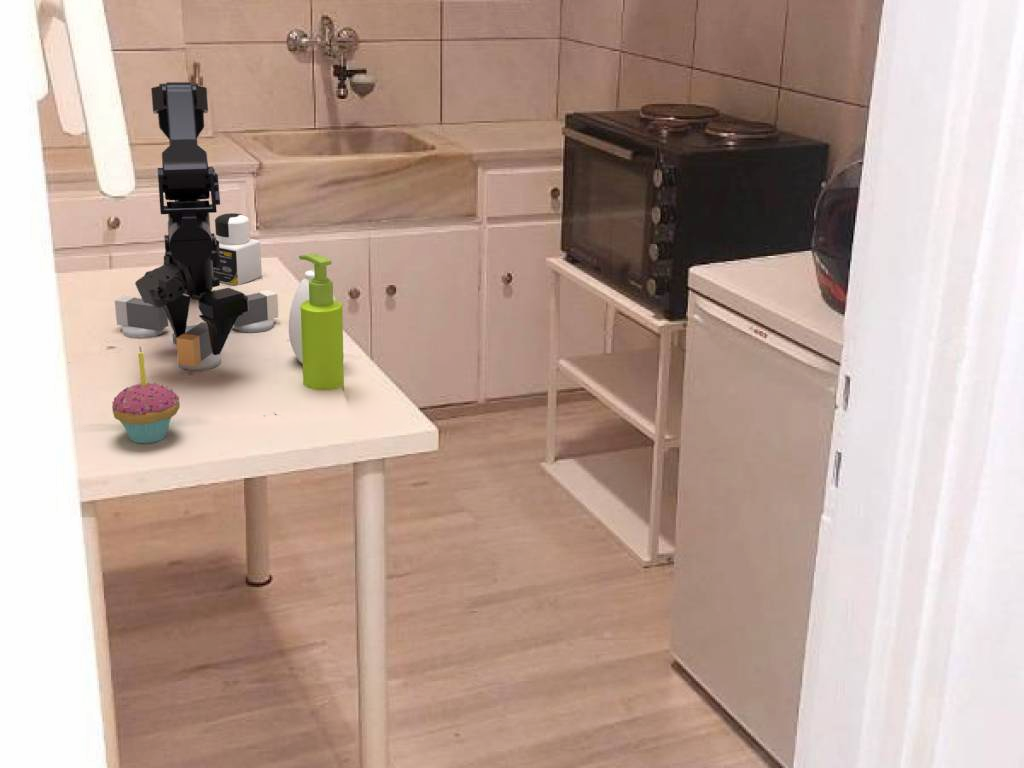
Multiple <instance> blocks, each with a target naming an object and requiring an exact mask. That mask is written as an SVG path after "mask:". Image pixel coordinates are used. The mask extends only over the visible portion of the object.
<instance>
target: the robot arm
mask: <svg viewBox="0 0 1024 768" xmlns="http://www.w3.org/2000/svg"><path fill="white" fill-rule="evenodd" d="M150 91H151V105H152V112H153V114H157V117H158V128H159V129H160V130H161V131H162V132H163V134H164V135H165V137H166V138H167V139H168V140H169V141H168V142H169V145H168V146H167V147H166V148H165V149H163V151H162V152H161V160H162V163H161V164H162V167H157V179H158V180H157V181H158V194H159V195H158V196H159V207H160V208H159V209H160V215H167V219H168V221H167V233H168V234H164V235H163V236H164V251H165V252H164V255H163V264H162V265H161V266H159V267H156V268H154V269H153V270H149V271H146V272H145V274H144V275H143V276H142V277H140V278H138V279H137V280H136V281H135V282H134V285H135V286H136V289H137V291H138V293H139V296H140V297H141V298H140V299H142V300H143V302H144V303H149V304H151V305H153V306H154V307H157V308H160V307H163V309H164V311H165V313H166V315H167V317H168V323H169V324H170V326H171V329H172V331H173V333H174V334H175V336H176V338H178V337H179V336H180V335H182V334H185V330H186V326H188V325H187V324H188V318H189V311H190V303H191V299H192V300H197V302H198V309H199V311H200V313H201V314H200V315H198V317H199V318H200V319H201V320H203V322H205V323H207V324H208V331H209V337H210V343H211V348H212V352H213V355H218V354H221V353H222V351H223V348H224V346H225V344H226V342H227V340H228V338H229V336H230V333H231V332H232V329H233V328H234V323H235V322H236V320H237V318H238V316H240V315H243V312H247V311H248V310H249V304H248V297H247V296H246V294H245V293H243V292H242V291H239V290H236V289H234V288H230V287H226V288H221V289H218V290H214V291H213V288H216V287H220V285H221V282H220V279H218V278H215V277H213V267H214V268H217V267H216V266H217V265H220V252H219V241H218V240H217V238H216V234H215V233H212V230H211V221H210V214H213V213H215V214H216V213H217V212H218V211H217V206H219V205H221V197H220V188H219V187H220V186H219V185H220V184H219V175H218V174H217V173H216V171H215V168H214V167H213V166H209V165H208V164H209V162H208V153H207V151H206V150H205V149H203V148H202V147H201V146H200V145H198V137H199V136H200V135H201V133H202V131H203V130H204V128H205V116H204V115H205V114H208V112H209V102H208V90H207V86H206V87H205V86H201V85H199V83H196V82H195V83H193V82H192V81H167V82H165V83H159V85H158V86H153V87H150ZM210 195H211V196H210ZM210 198H211V203H210V201H209V199H210ZM165 200H166V205H165Z"/></svg>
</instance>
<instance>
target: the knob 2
mask: <svg viewBox="0 0 1024 768" xmlns="http://www.w3.org/2000/svg"><path fill="white" fill-rule="evenodd" d="M245 295H246V294H245ZM246 296H247V297H248V304H249V310H248V311H247V312H243V315H240V316H238V318H237V320H236V322H235V323H234V325H233V329H234V330H235V331H238V332H241V333H250V334H251V333H262V332H264V333H265V332H267V331H270V330H271V329H273V328H274V326H275V321H274V319H278V318H279V303H278V302H279V301H278V300H279V298H278V293H277V292H275V291H272V290H270V289H267V290H266V289H265V290H261V291H258V292H255V293H252V294H247V295H246Z"/></svg>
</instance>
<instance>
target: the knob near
mask: <svg viewBox="0 0 1024 768" xmlns="http://www.w3.org/2000/svg"><path fill="white" fill-rule="evenodd" d="M114 306H115V319H116V325H117V326H121V327H122V328H121V329H122V334H123V335H124V337H127V338H128V337H129V338H131V339H133V338H134V339H148V338H154V337H157V336H160V335H162V334H163V333H164V332H165V329H166V328H167V327H169V320H168V317H167V315H166V313H165V311H164V309H163V307H160V308H157V307H154V306H153V305H151V304H149V303H144V302H143V300H142V298H140V297H139V298H138V297H135V296H129V295H128V296H127V295H123V296H120V297H118V298H117V299H115V300H114Z"/></svg>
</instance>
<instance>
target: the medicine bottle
mask: <svg viewBox="0 0 1024 768" xmlns="http://www.w3.org/2000/svg"><path fill="white" fill-rule="evenodd" d="M214 224H215V225H214V226H215V237H216V239H217V240H218V241H219V252H220V265H217V266H216V267H217V268H214V267H213V277H215V278H218V279H220V284H221V283H222V284H226V285H230V286H237V287H238V286H242V285H244V284H247V283H249V282H252V281H255V280H257V279H260V278H262V276H263V274H262V273H263V272H262V270H263V269H262V253H261V252H262V250H261V248H262V247H261V241H260V240H258V239H253V238H250V234H251V233H250V219H249V217H248V216H246V215H245V214H241V213H224V214H221V215H218V216H217V217H216V218H215V219H214Z"/></svg>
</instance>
